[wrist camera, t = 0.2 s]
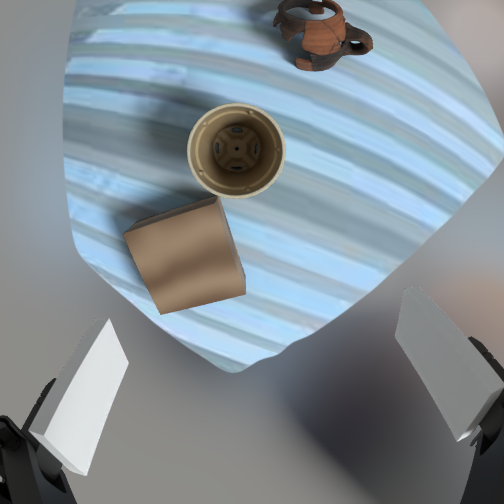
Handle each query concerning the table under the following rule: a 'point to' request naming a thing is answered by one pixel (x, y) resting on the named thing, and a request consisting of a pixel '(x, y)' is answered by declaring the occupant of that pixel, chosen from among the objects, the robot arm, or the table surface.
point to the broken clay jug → (322, 34)
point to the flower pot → (220, 165)
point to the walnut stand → (187, 256)
